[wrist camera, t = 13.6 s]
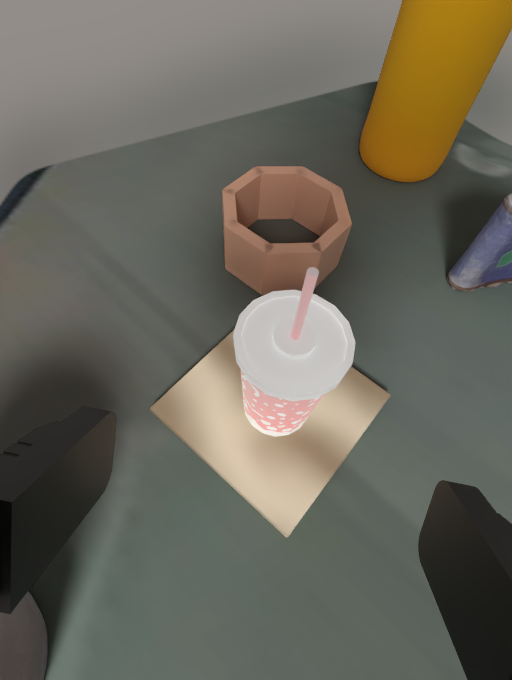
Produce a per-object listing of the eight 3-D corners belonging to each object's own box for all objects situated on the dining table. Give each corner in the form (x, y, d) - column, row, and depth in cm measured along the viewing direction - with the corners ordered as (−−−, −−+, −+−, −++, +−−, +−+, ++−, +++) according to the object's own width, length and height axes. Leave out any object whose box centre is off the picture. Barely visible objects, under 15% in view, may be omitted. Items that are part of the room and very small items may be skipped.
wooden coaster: (262, 308, 32) (262, 302, 31) (387, 399, 29) (390, 395, 28) (151, 412, 27) (149, 408, 26) (286, 537, 24) (288, 536, 23)
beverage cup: (235, 362, 29) (239, 211, 17) (318, 367, 29) (382, 222, 17) (228, 445, 25) (227, 333, 13) (321, 451, 26) (402, 345, 14)
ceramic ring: (271, 197, 39) (276, 151, 35) (355, 248, 36) (371, 205, 32) (201, 251, 35) (196, 207, 31) (288, 314, 32) (297, 275, 28)
